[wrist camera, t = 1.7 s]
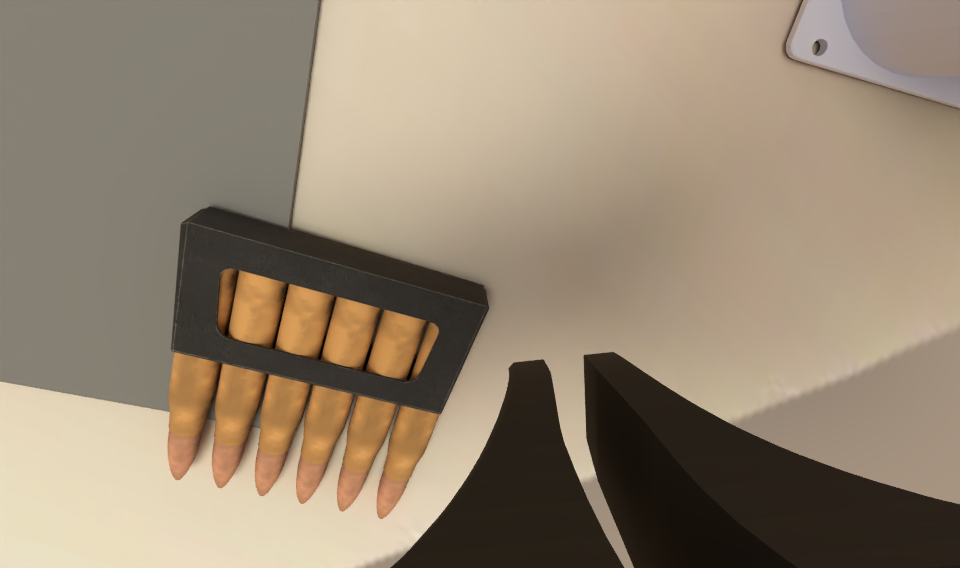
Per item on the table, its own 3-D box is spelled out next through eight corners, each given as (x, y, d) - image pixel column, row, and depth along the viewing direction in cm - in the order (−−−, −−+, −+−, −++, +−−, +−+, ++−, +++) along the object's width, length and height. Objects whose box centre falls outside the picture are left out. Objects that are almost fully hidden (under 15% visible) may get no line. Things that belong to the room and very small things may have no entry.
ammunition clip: (203, 204, 19) (164, 458, 23) (180, 219, 17) (142, 491, 22) (485, 286, 21) (401, 505, 25) (490, 307, 19) (399, 538, 24)
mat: (335, -113, 16) (333, -116, 16) (264, 424, 23) (261, 428, 23) (-340, -319, 14) (-356, -326, 14) (-205, 339, 21) (-214, 342, 21)
